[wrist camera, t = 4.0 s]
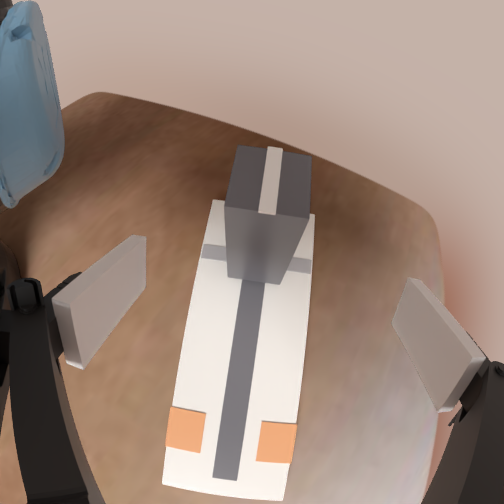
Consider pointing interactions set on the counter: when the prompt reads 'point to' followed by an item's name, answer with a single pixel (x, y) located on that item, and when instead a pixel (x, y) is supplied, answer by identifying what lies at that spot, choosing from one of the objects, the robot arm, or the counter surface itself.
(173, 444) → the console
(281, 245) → the slider tab
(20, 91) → the robot arm
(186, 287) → the counter surface
